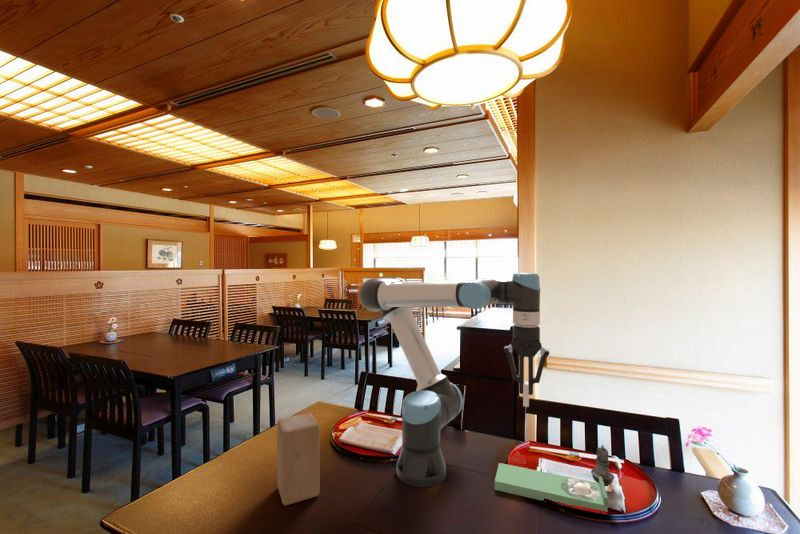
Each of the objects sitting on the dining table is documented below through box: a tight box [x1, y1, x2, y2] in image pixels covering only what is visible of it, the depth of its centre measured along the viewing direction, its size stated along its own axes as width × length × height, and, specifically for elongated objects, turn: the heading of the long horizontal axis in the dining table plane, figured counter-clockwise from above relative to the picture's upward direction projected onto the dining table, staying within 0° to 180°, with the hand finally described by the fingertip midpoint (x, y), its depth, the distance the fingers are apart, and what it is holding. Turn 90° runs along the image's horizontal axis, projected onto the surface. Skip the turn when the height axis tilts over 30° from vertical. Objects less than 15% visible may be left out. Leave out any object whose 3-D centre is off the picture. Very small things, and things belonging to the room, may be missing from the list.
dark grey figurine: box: [590, 444, 615, 486], centre depth 103 cm, size 6×6×12 cm
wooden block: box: [276, 412, 321, 506], centre depth 101 cm, size 10×10×20 cm
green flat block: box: [494, 462, 609, 513], centre depth 101 cm, size 28×10×4 cm, turn 68°
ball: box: [573, 483, 590, 496], centre depth 98 cm, size 4×4×4 cm
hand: (526, 404), depth 106 cm, fingers closed
